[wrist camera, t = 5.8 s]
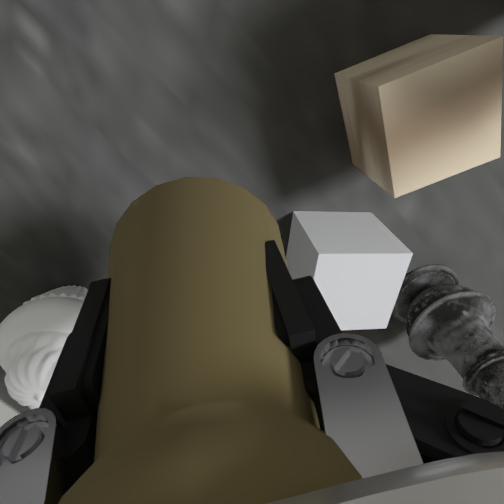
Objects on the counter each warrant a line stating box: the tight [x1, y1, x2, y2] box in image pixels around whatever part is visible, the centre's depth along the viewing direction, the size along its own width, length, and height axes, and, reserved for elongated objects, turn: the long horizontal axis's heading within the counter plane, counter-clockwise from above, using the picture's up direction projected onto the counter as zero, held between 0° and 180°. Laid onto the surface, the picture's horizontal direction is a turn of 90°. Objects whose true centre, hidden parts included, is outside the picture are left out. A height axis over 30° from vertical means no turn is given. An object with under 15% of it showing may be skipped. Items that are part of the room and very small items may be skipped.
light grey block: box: [286, 211, 413, 330], centre depth 22 cm, size 5×5×5 cm
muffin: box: [0, 285, 88, 409], centre depth 20 cm, size 6×6×7 cm
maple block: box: [334, 34, 503, 198], centre depth 18 cm, size 5×5×5 cm
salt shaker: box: [392, 264, 504, 409], centre depth 22 cm, size 6×6×12 cm
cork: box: [58, 177, 363, 504], centre depth 8 cm, size 6×6×11 cm
